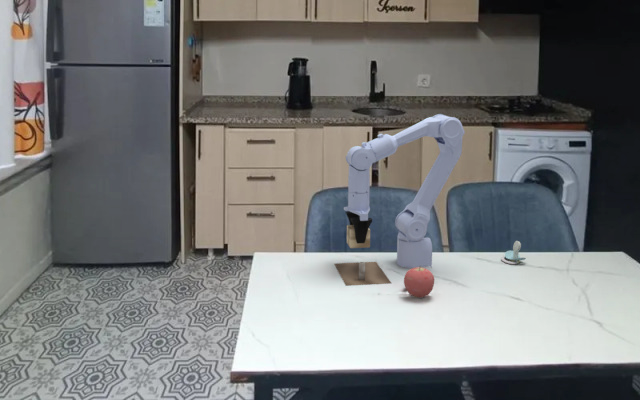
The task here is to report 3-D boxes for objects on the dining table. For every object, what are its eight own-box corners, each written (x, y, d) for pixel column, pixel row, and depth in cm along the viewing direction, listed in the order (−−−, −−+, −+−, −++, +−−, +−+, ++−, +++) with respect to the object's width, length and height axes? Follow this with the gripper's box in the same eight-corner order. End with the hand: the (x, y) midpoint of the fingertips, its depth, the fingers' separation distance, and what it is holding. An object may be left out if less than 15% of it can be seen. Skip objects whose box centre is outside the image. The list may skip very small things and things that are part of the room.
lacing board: (375, 266, 191) (376, 246, 190) (391, 288, 174) (392, 266, 172) (334, 268, 189) (334, 248, 188) (345, 291, 172) (345, 268, 171)
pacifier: (508, 266, 192) (527, 265, 193) (509, 245, 190) (528, 244, 191) (497, 259, 199) (516, 257, 200) (497, 238, 197) (516, 237, 198)
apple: (410, 289, 173) (411, 259, 172) (437, 294, 170) (439, 264, 168) (398, 298, 167) (399, 267, 165) (426, 303, 163) (427, 272, 162)
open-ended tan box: (365, 241, 188) (366, 224, 186) (370, 247, 182) (370, 229, 181) (346, 242, 187) (346, 225, 186) (350, 248, 182) (350, 230, 180)
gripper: (339, 186, 188) (339, 233, 191) (349, 197, 174) (348, 248, 177) (364, 185, 189) (363, 232, 192) (376, 196, 175) (375, 246, 178)
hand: (358, 239), depth 184 cm, fingers closed on open-ended tan box, 5 cm apart
